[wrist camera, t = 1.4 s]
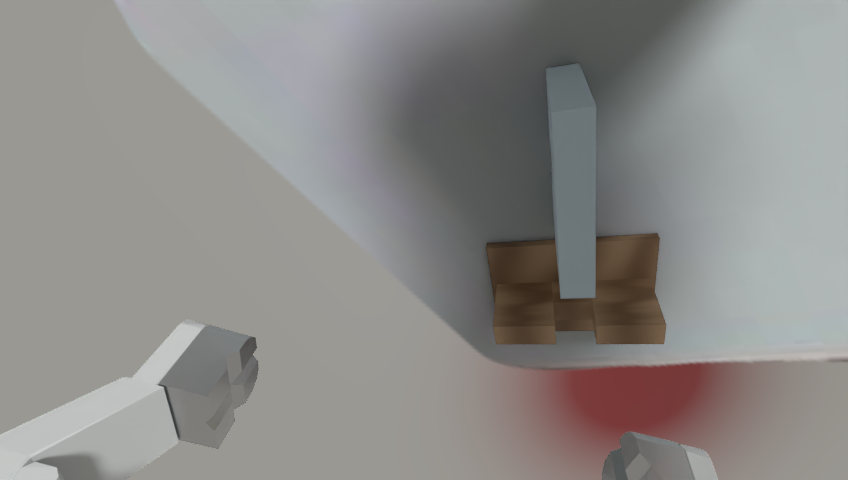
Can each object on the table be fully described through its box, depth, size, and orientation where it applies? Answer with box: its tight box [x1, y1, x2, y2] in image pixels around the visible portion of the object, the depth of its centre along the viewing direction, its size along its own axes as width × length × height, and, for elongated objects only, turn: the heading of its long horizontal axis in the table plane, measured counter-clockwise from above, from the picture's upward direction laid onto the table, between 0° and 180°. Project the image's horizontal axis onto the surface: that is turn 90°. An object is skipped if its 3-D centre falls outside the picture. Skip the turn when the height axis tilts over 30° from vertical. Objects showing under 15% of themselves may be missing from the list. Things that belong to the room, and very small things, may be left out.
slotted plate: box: [546, 63, 596, 299], centre depth 33 cm, size 14×2×10 cm, turn 11°
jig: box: [486, 233, 666, 344], centre depth 42 cm, size 15×11×7 cm
